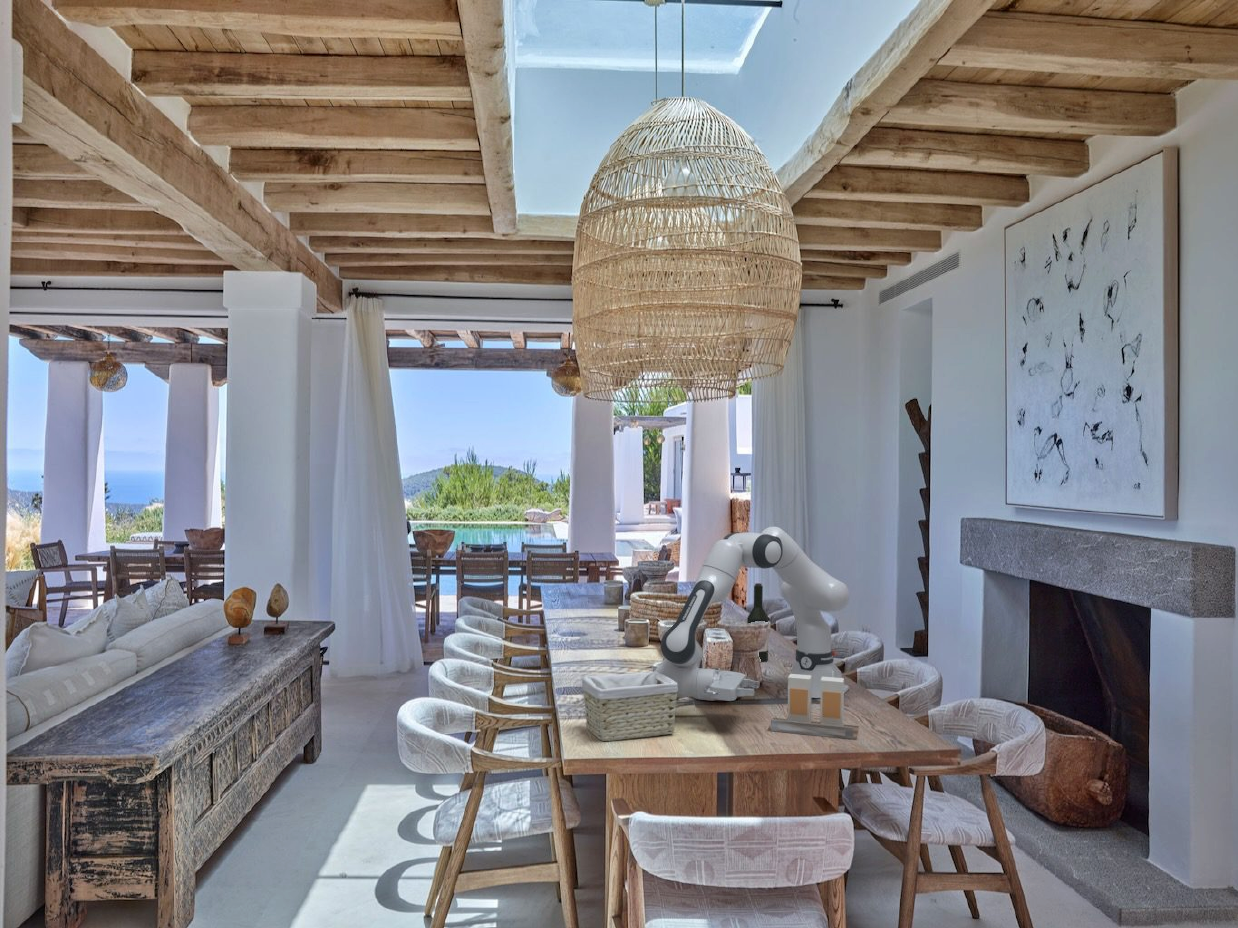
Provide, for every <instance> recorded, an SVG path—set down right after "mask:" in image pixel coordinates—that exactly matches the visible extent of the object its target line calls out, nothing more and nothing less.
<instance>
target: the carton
mask: <svg viewBox="0 0 1238 928" xmlns="http://www.w3.org/2000/svg"><path fill="white" fill-rule="evenodd" d="M844 685H845V678H843V677H842V678H835V677H822V678H821V698H820V703H819V704H820V705H819V706H820V714H819V715H820V716H819V717H820V718H819V720H820V721H819V722H820V724H828V725H838V726H844V725H845V724H844V723H845V722H844V720H845V719H844V717H845V714H844V713H845V709H844V708H845V707H844V706H845V705H844V704H845V702H844V701H845V694H844Z"/></svg>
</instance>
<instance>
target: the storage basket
mask: <svg viewBox="0 0 1238 928" xmlns="http://www.w3.org/2000/svg"><path fill="white" fill-rule="evenodd" d="M581 683H582V684H581V690H582V691H583V697H584V706H585V708H584V709H585V710H584V713H585V720H586V721H585V722H586V729H587V730H588V731H589V732H591V734H592V735H593V736H595V737H596V738H597V739H598V740H600V741H602V742H614V741H619V740H620V741H621V740H632V739H638V738H649V737H657V736H661V735H662V736H665V735H671V734H672V735H673V734H674V733H675V723H676V722H675V721H676V717H675V716H676V710H677V709H676V705H677V699H678V697H677V691H678V684H677V682H675V681H673V680H672V679H670V678H668V677H667V676H665V675H663V674H660V673H658V672H655V670H654V671H647V672H646V671H645V672H630V673H621V674H620V673H619V674H604V675H603V674H602V675H585V676H583V677H582V678H581Z"/></svg>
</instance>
